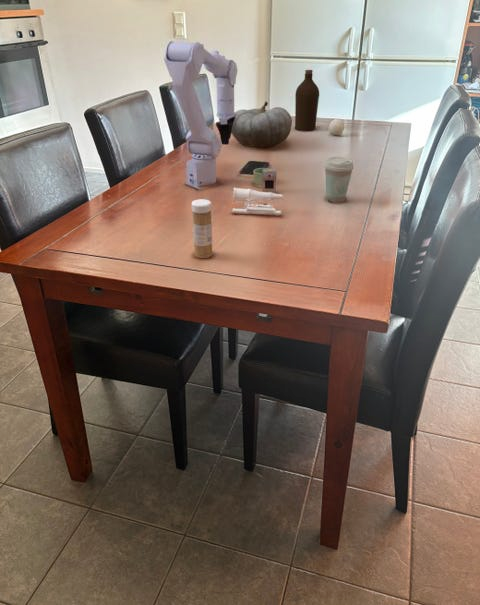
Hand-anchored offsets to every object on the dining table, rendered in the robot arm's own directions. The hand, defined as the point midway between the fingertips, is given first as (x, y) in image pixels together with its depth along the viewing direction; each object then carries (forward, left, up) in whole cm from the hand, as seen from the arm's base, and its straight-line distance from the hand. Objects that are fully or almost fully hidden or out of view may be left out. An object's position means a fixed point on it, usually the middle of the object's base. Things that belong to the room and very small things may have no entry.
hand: (226, 141), depth 175 cm
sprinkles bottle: (-47, -48, -11) cm, 68 cm away
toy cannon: (-19, -36, -11) cm, 42 cm away
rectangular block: (-5, -27, -10) cm, 29 cm away
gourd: (+34, +19, -11) cm, 40 cm away
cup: (0, -19, -10) cm, 22 cm away
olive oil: (+69, +26, -11) cm, 74 cm away
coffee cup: (+7, -44, -11) cm, 46 cm away
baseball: (+70, +9, -7) cm, 71 cm away
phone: (+8, -6, -10) cm, 14 cm away
